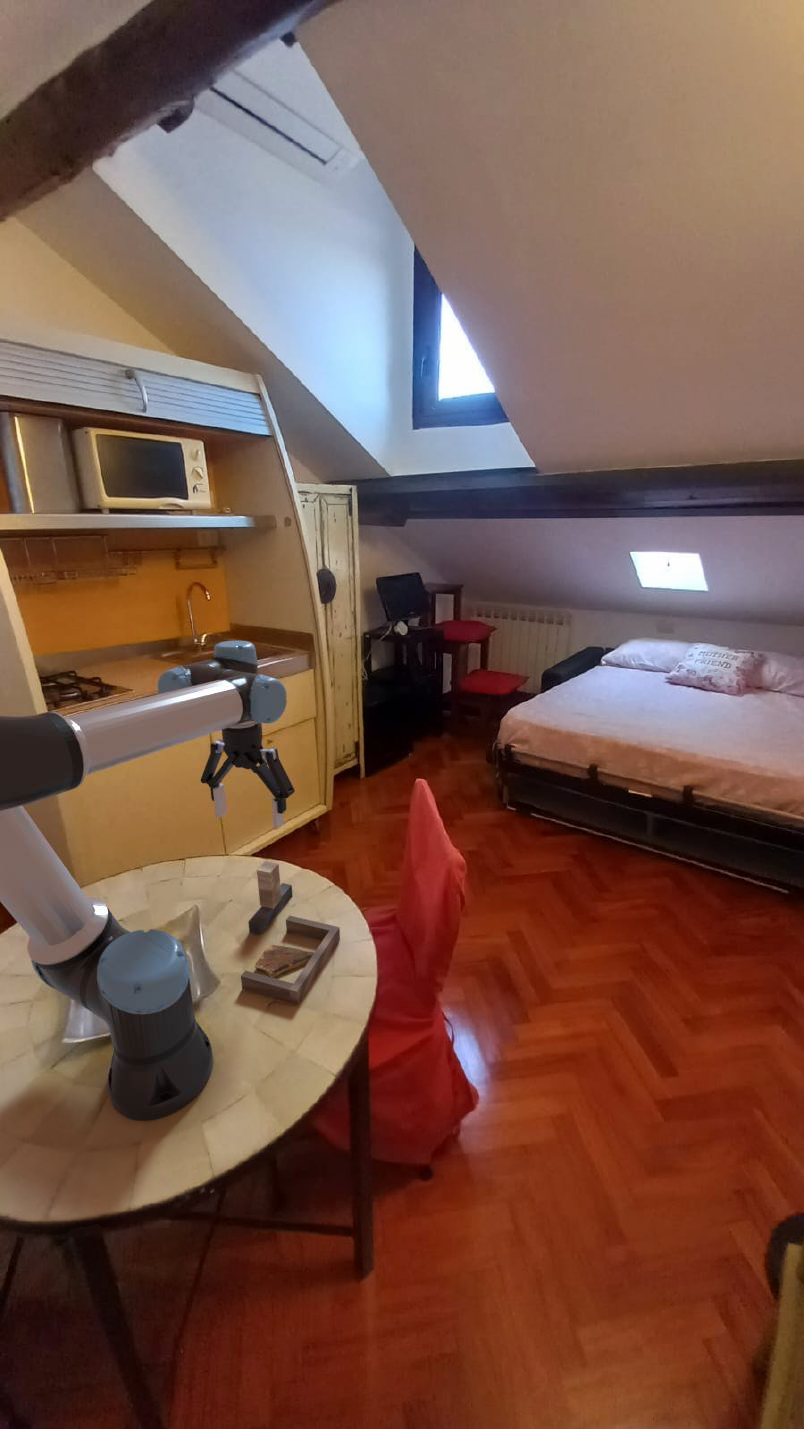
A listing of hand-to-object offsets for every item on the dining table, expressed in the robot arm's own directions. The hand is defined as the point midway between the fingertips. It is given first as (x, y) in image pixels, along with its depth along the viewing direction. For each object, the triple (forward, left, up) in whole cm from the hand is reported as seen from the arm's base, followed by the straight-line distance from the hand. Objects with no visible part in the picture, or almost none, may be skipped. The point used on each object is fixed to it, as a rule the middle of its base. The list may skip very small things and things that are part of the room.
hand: (249, 820), depth 121 cm
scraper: (+2, -2, -24) cm, 24 cm away
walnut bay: (-10, -14, -24) cm, 29 cm away
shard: (-9, -11, -24) cm, 28 cm away
